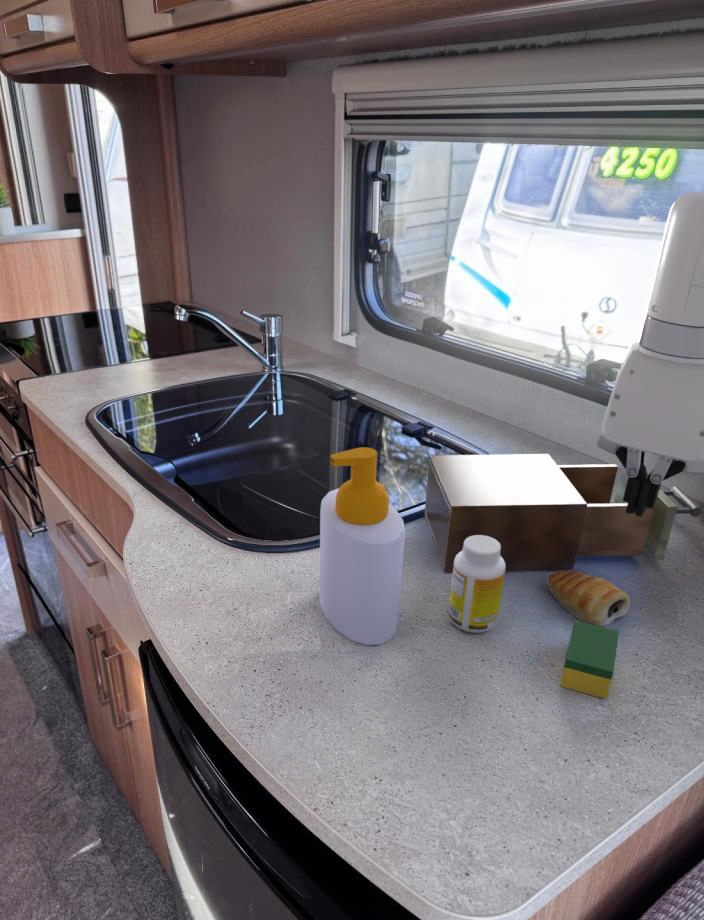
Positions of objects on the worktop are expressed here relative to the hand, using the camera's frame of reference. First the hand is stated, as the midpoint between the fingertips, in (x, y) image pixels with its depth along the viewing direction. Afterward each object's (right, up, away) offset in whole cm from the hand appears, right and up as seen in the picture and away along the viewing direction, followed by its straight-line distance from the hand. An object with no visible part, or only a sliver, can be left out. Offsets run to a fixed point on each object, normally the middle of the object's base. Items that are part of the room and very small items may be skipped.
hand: (636, 509), depth 76 cm
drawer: (+5, -3, +22) cm, 23 cm away
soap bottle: (-29, -12, +8) cm, 32 cm away
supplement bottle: (-16, -13, +7) cm, 22 cm away
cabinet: (-10, -4, +22) cm, 24 cm away
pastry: (-2, -12, +9) cm, 15 cm away
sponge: (-6, -17, -1) cm, 18 cm away
